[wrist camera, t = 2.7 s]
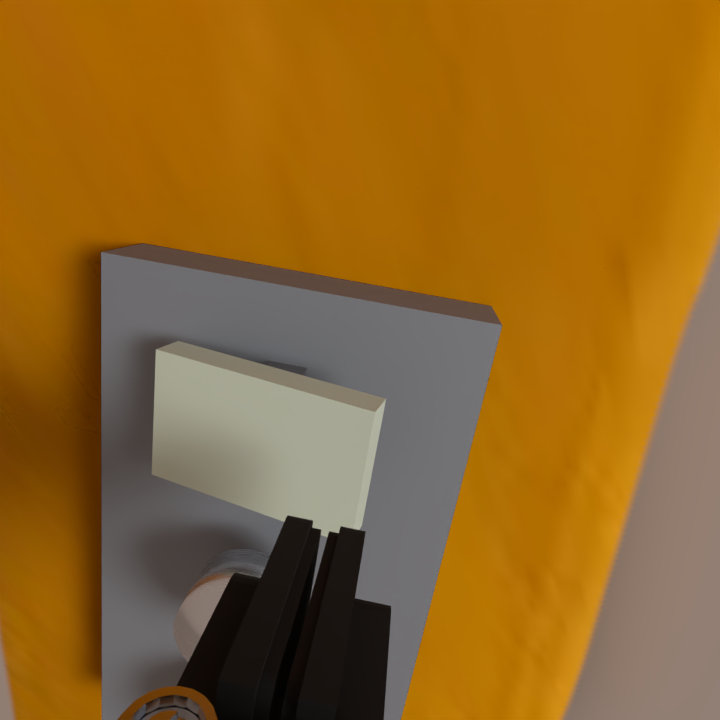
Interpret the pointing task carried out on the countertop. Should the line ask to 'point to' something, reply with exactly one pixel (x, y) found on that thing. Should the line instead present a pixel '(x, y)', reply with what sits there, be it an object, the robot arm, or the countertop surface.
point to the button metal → (212, 594)
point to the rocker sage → (264, 436)
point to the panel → (304, 357)
